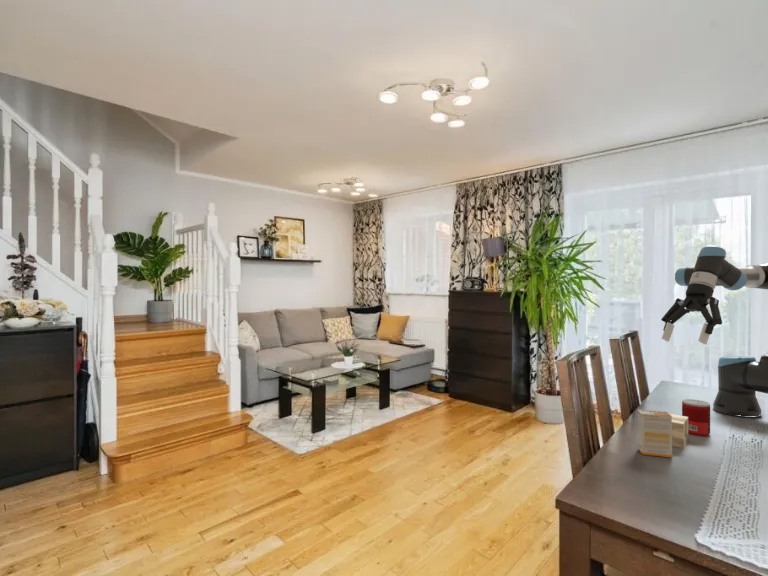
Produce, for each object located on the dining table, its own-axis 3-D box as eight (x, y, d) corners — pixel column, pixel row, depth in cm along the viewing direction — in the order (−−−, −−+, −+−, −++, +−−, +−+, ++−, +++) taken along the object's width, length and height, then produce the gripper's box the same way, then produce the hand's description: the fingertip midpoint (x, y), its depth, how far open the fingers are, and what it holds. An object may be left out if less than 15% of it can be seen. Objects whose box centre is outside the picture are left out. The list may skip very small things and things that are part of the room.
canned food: (715, 437, 141) (715, 405, 141) (689, 435, 142) (689, 404, 142) (702, 429, 148) (702, 399, 148) (678, 428, 150) (677, 398, 150)
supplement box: (667, 452, 129) (667, 411, 129) (672, 458, 124) (672, 415, 124) (637, 449, 131) (637, 408, 131) (641, 454, 127) (641, 413, 127)
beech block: (653, 433, 146) (653, 410, 146) (688, 440, 139) (688, 416, 139) (647, 440, 138) (647, 417, 138) (683, 448, 132) (683, 424, 131)
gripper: (661, 284, 156) (644, 334, 153) (730, 279, 132) (711, 338, 129) (676, 293, 158) (659, 343, 154) (747, 289, 133) (728, 348, 130)
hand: (682, 341), depth 141 cm, fingers open, 13 cm apart
